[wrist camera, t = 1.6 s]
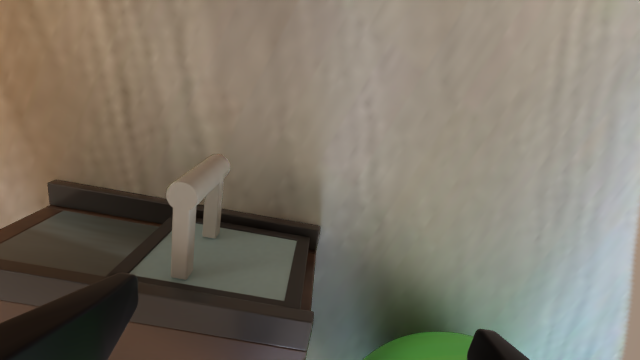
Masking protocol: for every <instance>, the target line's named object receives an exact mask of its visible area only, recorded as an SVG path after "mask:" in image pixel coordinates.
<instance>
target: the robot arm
mask: <svg viewBox="0 0 640 360" xmlns="http://www.w3.org/2000/svg"><path fill="white" fill-rule="evenodd" d="M137 305H138V278H137V276H136V275H134V274H129V273H117V274H115V275H112V276H110V277H107V278H105V279H103V280H100V281H98V282H96V283H93V284H91V285H89V286H86V287H84V288H82V289H79V290H77V291H75V292H72V293H70V294H67V295H65V296H63V297H60V298H58V299H56V300H53V301H51V302H49V303H46V304H44V305H42V306H39V307H37V308H35V309H32V310H30V311H27V312H25V313H23V314H20V315H18V316H16V317H13V318H11V319H9V320H6V321H4V322H2V323H0V360H108V358H109V356H110V355H111V353H112V351H113V349H114V348H115V346H116V344H117V342H118V340H119V339H120V337H121V335H122V333H123V332H124V330H125V328H126V326H127V324H128V323H129V321H130V319H131V317H132V316H133V314H134V312H135V310H136V308H137ZM467 360H529V359H528V358H527V357H526V356H524V355H523V354H522V353H521V352H520V351H518V350H517V349H516V348H515V347H513V346H512V345H511V344H510V343H508V342H507V341H506V340H505V339H504V338H502V337H501V336H500V335H499V334H497V333H496V332H494V331H491V330H485V329H478V330H477V331H476V332H475V334H474V337H473V339H472V342H471V344H470V347H469V349H468V352H467Z"/></svg>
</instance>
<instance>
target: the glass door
mask: <svg viewBox="0 0 640 360" xmlns="http://www.w3.org/2000/svg"><path fill="white" fill-rule="evenodd" d="M229 171H230V163H229V161H228V159H227V158H226V157H224V156H223V155H220V154H214V155H211V156H210V157H208V158H207V159H205V160H204V161H203V162H201V163H200V164H198V165H197V166H196V167H194V168H193V169H191V170H190V171H188V172H187V173H186V174H184V175H183V176H181V177H180V178H179V179H177V180H176V181H174V182H173V183H172V184H170V185H169V186H168V188H167V190H166V198H167V201H168V203H169V204H170V205H171V206H172V207H173V215H172V216H171V217H170V218H168V219H167V220H166V221H165V222H164V223H163V224H162V225H161V226H160V227H159V228H157V229H156V230H155V231H154V232H153V233H152V234H151V235H150V236H149V237H148V238H146V239H145V240H144V241H143V242H142V243H141V244H140V245H139V246H138V247H137V248H136V249H134V250H133V251H132V252H131V253H130V254H129V255H128V256H127V257H126V258H125V259H123V260H122V261H121V262H120V263H119V264H118V265H117V266H116V267H115V268H114V269H112V270H111V271H110V272H109V273H108V274H107V275H106V277H110V276H112V275H115V274H117V273H129V274H134V275H136V276H137V278H138V282H141V283H147V284H153V285H159V286H165V287H171V288H177V289H183V290H189V291H194V292H200V293H206V294H212V295H218V296H224V297H230V298H236V299H242V300H248V301H254V302H259V303H265V304H271V305H277V306H283V307H289V308H295V309H300V308H301V300H302V293H303V285H304V278H305V271H306V263H307V256H308V248H309V241H310V237H305V236H299V235H293V234H287V233H281V232H276V231H270V230H264V229H258V228H253V227H247V226H241V225H235V224H230V223H224V222H220V221H221V210H222V198H223V186H224V177H225V176H226V175H227V174H228V173H229ZM204 198H205V201H204V217H203V219H201V218H196V206H197V205H198V204H199V203H200V202H201V201H202V200H203V199H204Z"/></svg>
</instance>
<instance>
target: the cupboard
mask: <svg viewBox="0 0 640 360" xmlns="http://www.w3.org/2000/svg"><path fill="white" fill-rule="evenodd" d="M48 193H49V202H50V205H49V206H47V207H46V208H43V209H41V210H39V211H37V212H35V213H33V214H31V215H29V216H27V217H25V218H23V219H20V220H18V221H16V222H14V223H12V224H10V225H8V226H6V227H4V228H2V229H0V323H2V322H4V321H6V320H9V319H11V318H13V317H16V316H18V315H20V314H23V313H25V312H27V311H30V310H32V309H35V308H37V307H39V306H42V305H44V304H46V303H49V302H51V301H53V300H56V299H58V298H60V297H63V296H65V295H67V294H70V293H72V292H75V291H77V290H79V289H82V288H84V287H86V286H89V285H91V284H93V283H96V282H98V281H100V280H103V279H105V278H107V277H106V275H107V274H108V273H109V272H110V271H111V270H112V269H114V268H115V267H116V266H117V265H118V264H119V263H120V262H121V261H122V260H123V259H125V258H126V257H127V256H128V255H129V254H130V253H131V252H132V251H133V250H134V249H136V248H137V247H138V246H139V245H140V244H141V243H142V242H143V241H144V240H145V239H146V238H148V237H149V236H150V235H151V234H152V233H153V232H154V231H155V230H156V229H157V228H159V227H160V226H161V225H162V224H163V223H164V222H165V221H166V220H167V219H168V218H170V217H171V216H172V215H173V207H172V206H171V205H170V204H169V203H168V201H167V199H163V198H157V197H151V196H146V195H140V194H134V193H128V192H123V191H117V190H111V189H106V188H100V187H94V186H88V185H83V184H77V183H71V182H66V181H60V180H54V181H51V182H49V183H48ZM203 217H204V206H203V205H197V206H196V218H201V219H203ZM220 222H224V223H230V224H235V225H241V226H247V227H253V228H258V229H264V230H270V231H276V232H281V233H287V234H293V235H299V236H305V237H310V241H309V248H308V256H307V263H306V271H305V278H304V285H303V293H302V300H301V308H300V309H295V308H289V307H283V306H277V305H271V304H265V303H259V302H254V301H248V300H242V299H236V298H230V297H224V296H218V295H212V294H206V293H200V292H194V291H189V290H183V289H177V288H171V287H165V286H159V285H153V284H147V283H141V282H138V305H137V308H136V310H135V312H134V314H133V316H132V317H131V319H130V321H129V323H128V324H127V326H126V328H125V330H124V332H123V333H122V335H121V337H120V339H119V340H118V342H117V344H116V346H115V348H114V349H113V351H112V353H111V355H110V356H109V358H108V360H306V355H307V349H308V345H309V341H310V336H311V331H312V326H313V319H314V312H313V311H311V303H312V292H313V281H314V270H315V259H316V250H317V245H318V240H319V235H320V228H321V227H320V226H317V225H311V224H306V223H300V222H294V221H288V220H283V219H277V218H271V217H266V216H260V215H254V214H248V213H243V212H237V211H231V210H226V209H222V210H221V221H220Z"/></svg>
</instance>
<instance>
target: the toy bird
mask: <svg viewBox="0 0 640 360" xmlns="http://www.w3.org/2000/svg"><path fill="white" fill-rule="evenodd" d="M472 339H473V336H469V335H464V334H459V333H452V332H422V333H416V334H411V335H407V336H403V337H400V338H398V339H395V340H393V341H390V342H388V343H386V344H384V345H383V346H381V347H379V348H378V349H376V350H374V351H373V352H372V353H370V354H369V355H368V356H366V357H365V358H364V359H363V360H467V352H468V349H469V347H470V344H471V342H472Z"/></svg>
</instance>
